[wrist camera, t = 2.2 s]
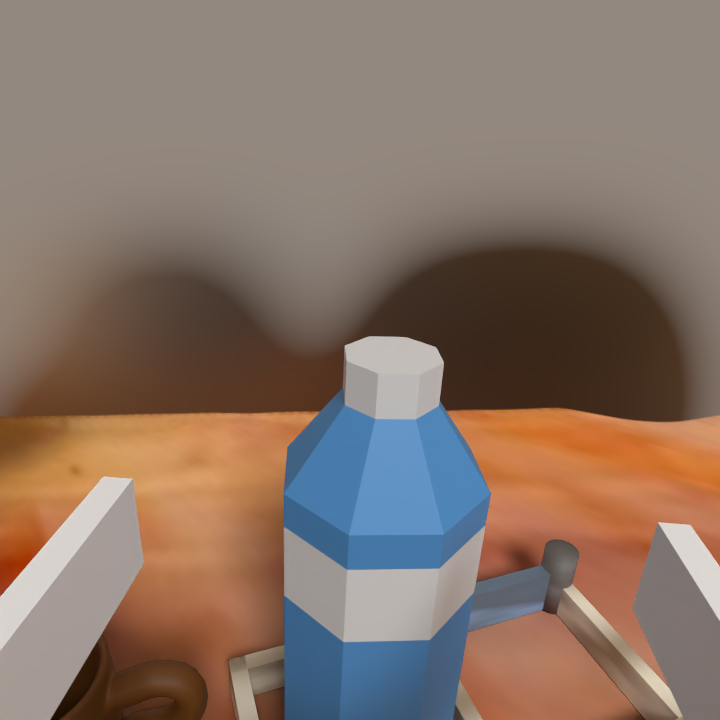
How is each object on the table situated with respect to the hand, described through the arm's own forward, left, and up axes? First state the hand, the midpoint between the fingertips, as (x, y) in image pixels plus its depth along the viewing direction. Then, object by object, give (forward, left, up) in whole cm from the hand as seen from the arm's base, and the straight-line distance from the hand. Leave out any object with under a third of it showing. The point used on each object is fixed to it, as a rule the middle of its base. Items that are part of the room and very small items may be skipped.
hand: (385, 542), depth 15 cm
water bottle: (-9, +4, -24) cm, 26 cm away
